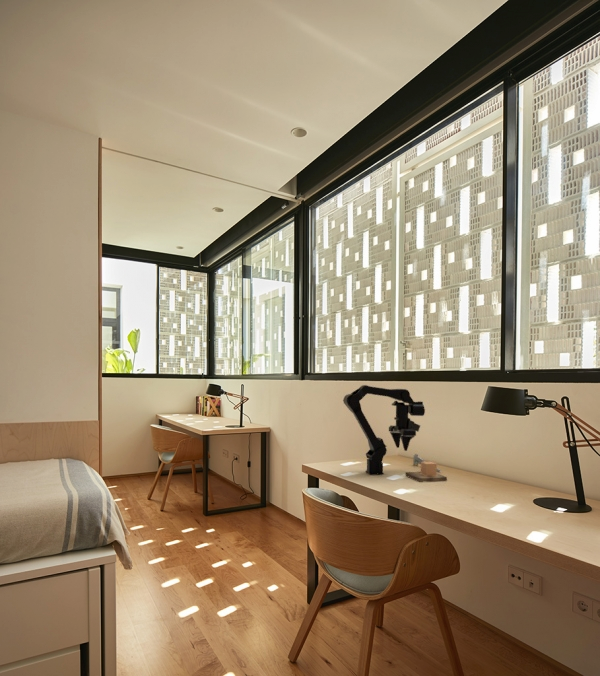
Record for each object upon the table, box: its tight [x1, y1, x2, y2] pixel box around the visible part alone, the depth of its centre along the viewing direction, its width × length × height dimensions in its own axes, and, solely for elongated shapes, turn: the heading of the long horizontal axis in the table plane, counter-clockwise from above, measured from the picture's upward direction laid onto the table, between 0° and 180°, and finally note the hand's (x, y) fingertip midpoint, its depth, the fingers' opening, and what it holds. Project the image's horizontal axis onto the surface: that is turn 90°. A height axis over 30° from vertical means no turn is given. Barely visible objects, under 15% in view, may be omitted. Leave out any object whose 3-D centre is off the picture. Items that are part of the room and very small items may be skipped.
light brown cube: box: [420, 461, 438, 476], centre depth 204 cm, size 5×5×5 cm
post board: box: [405, 471, 448, 483], centre depth 203 cm, size 13×13×6 cm
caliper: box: [412, 453, 443, 473], centre depth 225 cm, size 20×1×6 cm, turn 24°
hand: (401, 449), depth 216 cm, fingers open, 9 cm apart
